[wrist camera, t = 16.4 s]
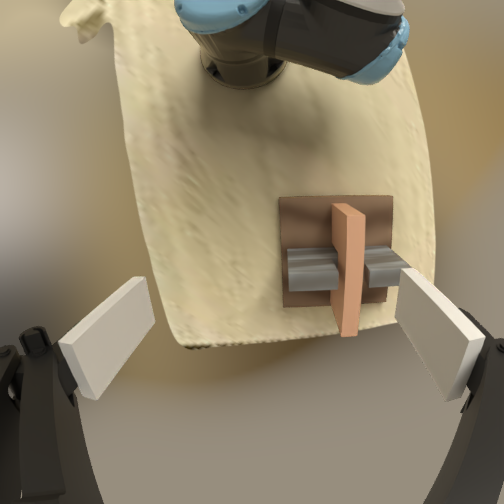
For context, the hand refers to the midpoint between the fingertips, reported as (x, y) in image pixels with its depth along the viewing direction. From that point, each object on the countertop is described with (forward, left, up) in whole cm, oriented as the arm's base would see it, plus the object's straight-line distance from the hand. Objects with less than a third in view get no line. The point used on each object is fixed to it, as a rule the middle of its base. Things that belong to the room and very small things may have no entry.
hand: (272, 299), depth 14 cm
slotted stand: (+9, +10, -37) cm, 39 cm away
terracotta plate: (+9, +10, -35) cm, 38 cm away
